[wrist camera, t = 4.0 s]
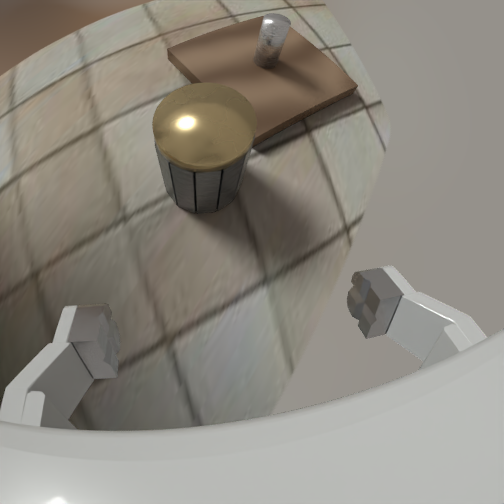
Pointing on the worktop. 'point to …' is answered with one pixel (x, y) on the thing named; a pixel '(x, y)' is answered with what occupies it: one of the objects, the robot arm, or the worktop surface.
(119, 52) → the worktop surface
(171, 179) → the gold-topped grooved cylinder
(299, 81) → the post board
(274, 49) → the steel post
